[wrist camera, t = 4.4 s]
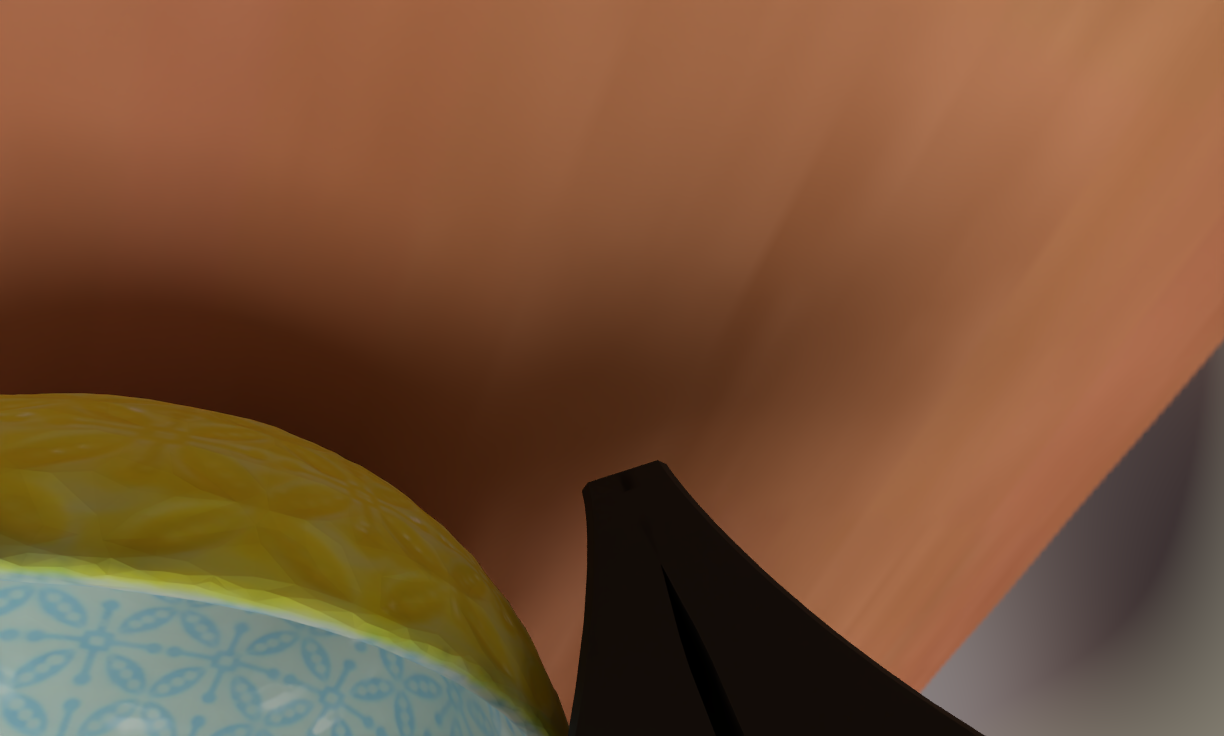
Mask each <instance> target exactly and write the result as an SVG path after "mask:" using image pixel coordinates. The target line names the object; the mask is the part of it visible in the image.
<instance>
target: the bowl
mask: <svg viewBox="0 0 1224 736" xmlns="http://www.w3.org/2000/svg"><path fill="white" fill-rule="evenodd" d="M568 730H569V725H568V722H567V719H566V717H565V714H564V711H563V708H562V705H561V703H560V700H559V697H558V694H557V693H556V691H555V690H554V688H553V686H552V684H551V682H550V679H549V677H548V675H547V673H546V671H545V669H544V666H543V664H542V662H541V660H540V657H539V655H538V653H537V650H536V648H535V646H534V644H533V642H532V640H531V638H530V636H529V634H528V632H527V630H526V628H525V627H524V625H523V624H522V623H521V621H520V620H519V618H518V617H517V615H516V614H515V612H514V610H513V609H512V607H511V605H510V604H509V602H508V601H507V599H506V598H505V597H504V595H503V594H502V593H501V592H500V591H499V590H498V588H497V587H496V586H495V585H494V584H493V582H492V581H491V580H490V579H489V577H488V576H487V575H486V574H485V572H484V571H483V569H482V568H481V566H480V565H479V563H478V562H477V560H476V559H475V558H474V556H473V555H472V554H471V553H469V552H468V551H467V550H466V549H465V548H464V547H463V546H462V545H461V544H460V543H459V542H458V541H457V540H456V539H455V538H454V537H453V536H452V535H451V534H450V533H449V531H448V530H447V529H446V528H445V527H444V526H443V525H441V524H440V523H439V522H437V521H436V520H435V519H433V518H432V517H431V516H429V515H428V514H427V513H426V512H424V511H423V510H422V509H421V508H419V507H418V506H417V505H416V504H415V503H414V502H413V501H412V500H411V499H410V498H408V497H407V496H406V495H405V494H403V493H402V492H401V491H399V490H398V489H396V488H395V487H394V486H392V485H391V484H389V483H388V482H386V481H385V480H383V479H381V478H380V477H378V476H376V475H375V474H373V473H372V472H370V471H368V470H367V469H365V468H364V467H362V466H360V465H358V464H356V463H353V462H351V461H349V460H347V459H345V458H343V457H341V456H340V455H338V454H337V453H335V452H332V451H330V450H327V449H325V448H323V447H321V446H319V445H317V444H315V443H313V442H310V441H308V440H305V439H302V438H300V437H297V436H295V435H293V434H291V433H288V432H286V431H284V430H282V429H280V428H277V427H275V426H271V425H268V424H265V423H261V422H258V421H255V420H251V419H247V418H242V417H238V416H233V415H228V414H224V413H219V412H215V411H210V410H205V409H200V408H195V407H190V406H184V405H178V404H173V403H167V402H162V401H157V400H151V399H144V398H135V397H126V396H117V395H108V394H88V393H48V394H17V395H0V736H568Z"/></svg>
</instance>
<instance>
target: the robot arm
mask: <svg viewBox="0 0 1224 736" xmlns="http://www.w3.org/2000/svg"><path fill="white" fill-rule="evenodd" d="M582 493H583V498H584V503H585V511H586V521H587V580H586V597H585V613H584V625H583V634H582V642H581V650H580V658H579V666H578V674H577V682H576V689H575V695H574V701H573V707H572V713H571V719H570V725H569V730H568V736H984V735H983V734H981V733H980V732H978V731H976V730H975V729H974V728H972V727H970V726H969V725H967V724H966V723H964V722H963V721H961V720H959V719H958V718H956V717H955V716H953V715H952V714H950V713H949V712H947V711H945V710H944V709H942V708H941V707H939V706H938V705H936V704H934V703H933V702H931V701H930V700H929V699H927V698H925V697H924V696H923V695H921V694H920V693H918V692H917V691H916V690H914V689H913V688H911V687H910V686H909V685H907V684H906V683H904V682H903V681H901V680H900V679H899V678H897V677H896V676H894V675H893V674H892V673H890V672H889V671H887V670H886V669H884V668H883V667H882V666H880V665H879V664H878V663H876V662H875V661H874V660H872V659H871V658H870V657H868V656H867V655H866V654H864V653H863V652H862V651H860V650H859V649H858V648H856V647H855V646H854V645H852V644H851V643H850V642H848V641H847V640H846V639H844V638H843V637H842V636H841V635H839V634H838V633H837V632H836V631H834V630H833V629H832V628H831V627H829V626H828V625H827V624H826V623H824V622H823V621H822V620H821V619H819V618H818V617H817V616H816V615H815V614H813V613H812V612H811V611H810V610H809V609H807V608H806V607H805V606H804V605H803V604H802V603H800V602H799V601H798V600H797V599H796V598H795V597H793V596H792V595H791V594H790V593H789V592H788V591H786V590H785V589H784V588H783V587H782V586H781V585H779V584H778V583H777V582H776V581H775V580H774V579H773V578H772V577H771V576H770V575H768V574H767V573H766V572H765V571H764V570H763V569H762V568H761V567H760V566H759V565H758V564H757V563H756V562H755V561H753V560H752V559H751V558H750V557H749V556H748V555H747V554H746V553H745V552H744V551H743V550H742V549H741V548H740V547H739V546H738V545H737V544H736V543H735V542H734V541H733V540H732V539H731V538H730V537H729V536H728V535H727V534H726V533H725V532H724V531H723V530H722V529H721V528H720V527H719V526H718V525H717V524H716V523H715V522H714V521H713V520H712V519H711V518H710V517H709V515H708V514H707V513H706V512H705V511H704V510H703V509H702V508H701V507H700V506H699V505H698V503H697V502H696V501H695V500H694V499H693V498H692V497H691V495H690V494H689V493H688V492H687V491H686V489H685V488H684V487H683V486H682V485H681V483H680V482H679V481H678V479H677V478H676V477H675V476H674V474H673V473H672V472H671V470H670V469H669V467H668V466H667V464H665V463H663V462H661V461H658V460H657V461H654V462H651V463H648V464H645V465H641V466H638V467H635V468H632V469H629V470H626V471H623V472H619V473H616V474H613V475H610V476H607V477H604V478H601V479H598V480H594V481H591V482H588V483H587V485H586V486H585V487H584V489H583V490H582Z"/></svg>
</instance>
